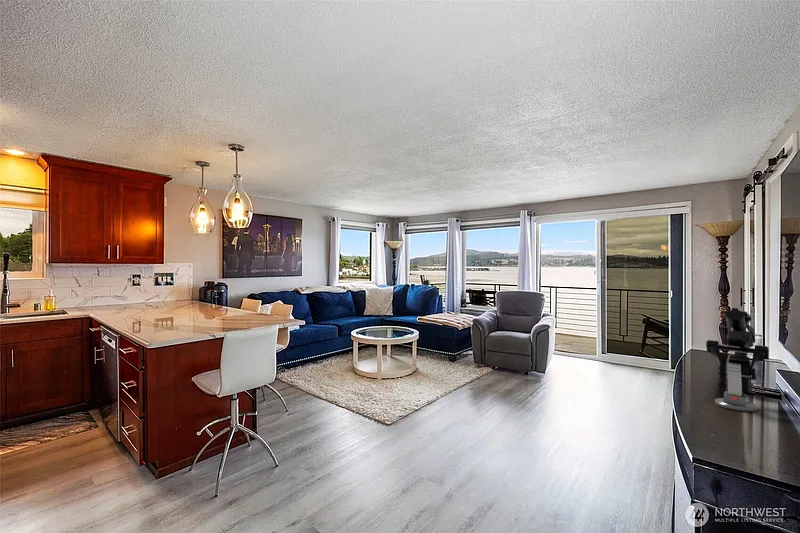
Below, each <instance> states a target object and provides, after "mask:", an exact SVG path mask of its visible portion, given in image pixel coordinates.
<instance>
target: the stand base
mask: <svg viewBox="0 0 800 533" xmlns="http://www.w3.org/2000/svg"><path fill="white" fill-rule="evenodd" d="M747 395H748V394H742V396H741V397H739V396H733V395H728V390H725V391H724V393H723V397H718V398H715V399H714V403H715V404H714V405H716V406H718V407H721V408H723V409H725V410H726V409H727V410H731V411H736V412H743V413H744V412H745V413H754V412H755V413H756V412H758V411H759V408H758V405H756V404H755V403H752V402H749V401H748V396H747Z"/></svg>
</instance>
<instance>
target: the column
mask: <svg viewBox="0 0 800 533" xmlns="http://www.w3.org/2000/svg"><path fill="white" fill-rule="evenodd" d="M726 363H727V370H726V376H727V378H726V379H727V391H728V395H733V396H739V397H741V396H742V385H741V365H740V364H733V363H728V362H726Z"/></svg>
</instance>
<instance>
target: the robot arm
mask: <svg viewBox="0 0 800 533" xmlns="http://www.w3.org/2000/svg"><path fill="white" fill-rule="evenodd" d="M723 316H724V321H725V322H726V325H727V336H726V344H722V343H721V344H720V342H719V340H713V339H712V340H711V339H708V340H706V342H705V346H706V352H707V353H710V354H711V355H714V357H715V358H716V359H717V362H718V364H719V366H721V365H722V358H721V350H723V351H730V352H731V351H732V352H734V355H733V354H731V355H729V358H728V360H727V361H728V362H726V364H725V366H726V367H725V368H726V371H727V363H733V364H740V365H741V385H742V394H747V395H752V394H756V392H755V391H752V381H754V380H755V381H756V380H757V372H756V368H755V367H756V365H757V364H758V363H760V361H762V362H763V361H764V360H770V359H769V356H770V354H769V353H770V350H769V349H770V348H769V347H768V346H767V345H758V344H756V331H755V329H754V328H753V327H752V326H751V325H750V322H752V320H753V319H752V316H751V315H750V313H748V312H747V311H743V310H742V311H741V310H739V308H737V307H732V308H731V309H730V310H727V311H726V312H725V313H724V315H723ZM754 343H755V344H754ZM752 347H753V348H752ZM749 354H752V358H750V356H749Z"/></svg>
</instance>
